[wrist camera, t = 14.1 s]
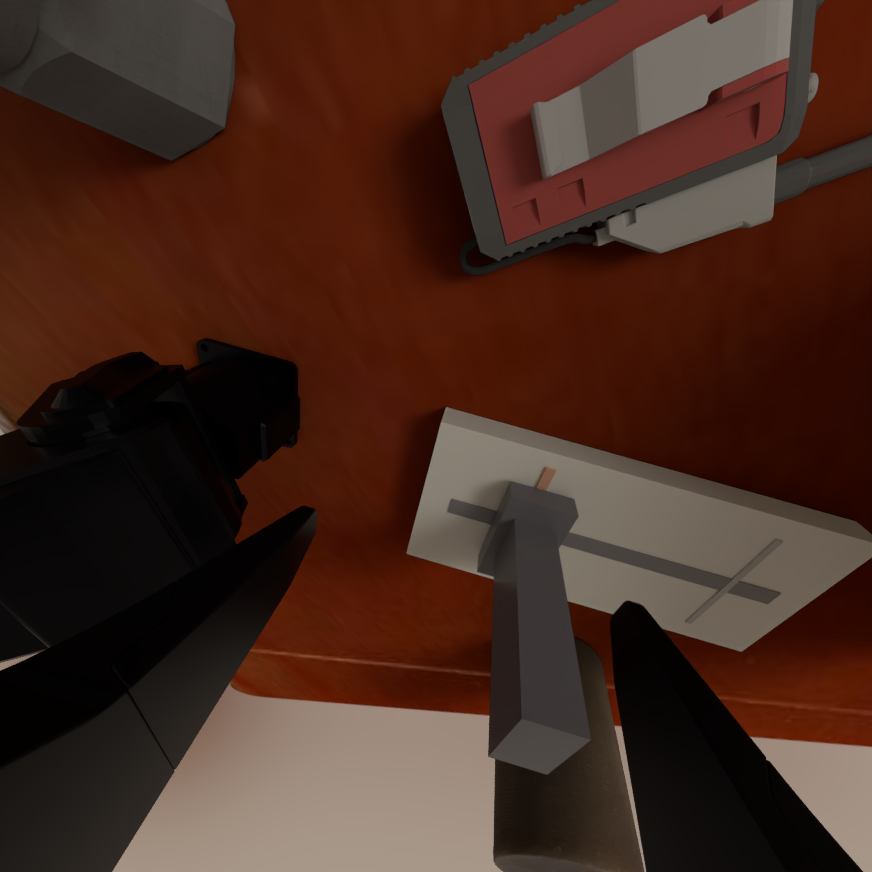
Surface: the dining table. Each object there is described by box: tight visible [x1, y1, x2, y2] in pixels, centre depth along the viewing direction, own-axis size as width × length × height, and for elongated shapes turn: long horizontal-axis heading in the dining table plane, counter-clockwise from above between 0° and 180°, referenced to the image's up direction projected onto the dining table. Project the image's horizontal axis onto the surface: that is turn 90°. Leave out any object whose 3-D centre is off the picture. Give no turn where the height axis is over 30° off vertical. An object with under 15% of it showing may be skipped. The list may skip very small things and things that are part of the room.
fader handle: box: [477, 481, 591, 775], centre depth 18 cm, size 4×7×12 cm, turn 167°
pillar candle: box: [493, 638, 644, 872], centre depth 28 cm, size 10×10×15 cm
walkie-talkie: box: [441, 0, 872, 276], centre depth 12 cm, size 9×4×20 cm
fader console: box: [406, 407, 872, 652], centre depth 24 cm, size 26×12×2 cm, turn 77°
